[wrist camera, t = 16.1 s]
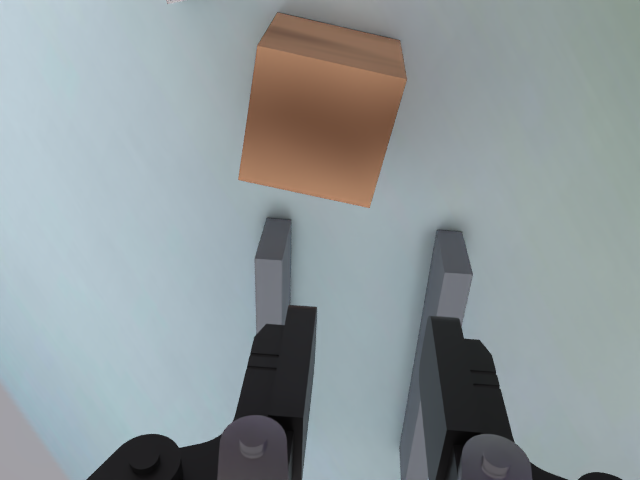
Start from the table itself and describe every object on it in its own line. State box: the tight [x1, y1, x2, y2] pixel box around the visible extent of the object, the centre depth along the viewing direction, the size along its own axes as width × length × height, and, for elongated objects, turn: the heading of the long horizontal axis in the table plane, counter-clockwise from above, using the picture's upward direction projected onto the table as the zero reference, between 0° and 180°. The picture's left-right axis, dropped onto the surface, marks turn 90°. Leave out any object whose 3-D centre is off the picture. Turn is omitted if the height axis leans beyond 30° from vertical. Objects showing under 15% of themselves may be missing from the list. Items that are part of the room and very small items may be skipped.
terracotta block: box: [238, 12, 407, 208], centre depth 23 cm, size 5×5×5 cm
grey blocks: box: [255, 218, 473, 480], centre depth 31 cm, size 16×9×4 cm, turn 178°
